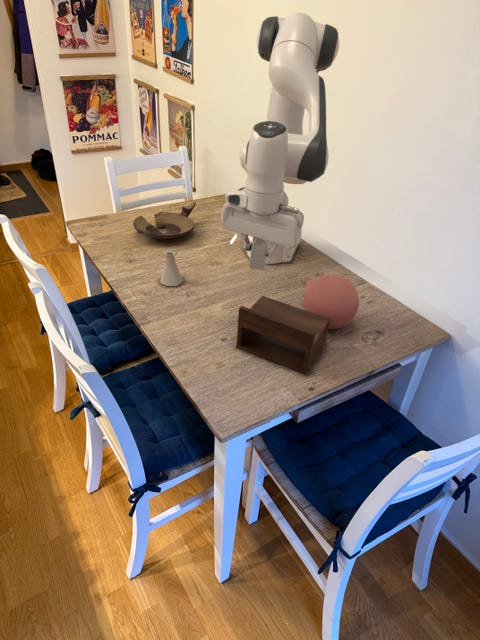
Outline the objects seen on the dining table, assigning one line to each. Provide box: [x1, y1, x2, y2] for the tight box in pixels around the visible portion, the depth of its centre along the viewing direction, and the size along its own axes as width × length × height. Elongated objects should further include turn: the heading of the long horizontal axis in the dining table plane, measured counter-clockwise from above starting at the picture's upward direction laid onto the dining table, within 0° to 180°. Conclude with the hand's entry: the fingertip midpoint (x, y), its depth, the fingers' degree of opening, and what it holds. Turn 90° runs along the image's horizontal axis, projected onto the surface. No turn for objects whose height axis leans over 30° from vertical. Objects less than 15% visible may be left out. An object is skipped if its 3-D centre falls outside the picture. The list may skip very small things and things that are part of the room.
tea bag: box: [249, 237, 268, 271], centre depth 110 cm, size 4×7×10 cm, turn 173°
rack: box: [235, 295, 330, 376], centre depth 114 cm, size 14×20×13 cm
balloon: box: [301, 273, 360, 330], centre depth 125 cm, size 15×20×15 cm
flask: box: [160, 250, 183, 287], centre depth 139 cm, size 7×7×10 cm
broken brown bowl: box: [132, 201, 197, 239], centre depth 168 cm, size 22×30×8 cm
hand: (258, 253), depth 109 cm, fingers closed on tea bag, 4 cm apart
